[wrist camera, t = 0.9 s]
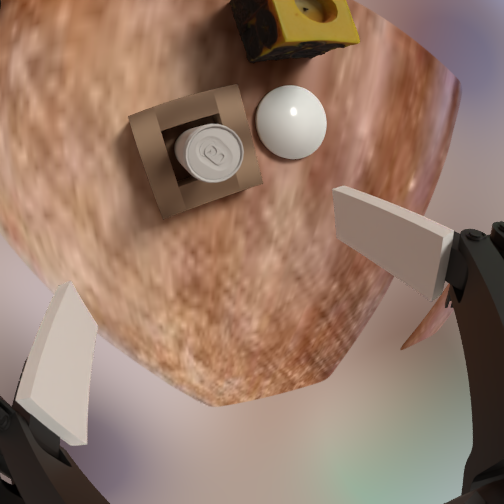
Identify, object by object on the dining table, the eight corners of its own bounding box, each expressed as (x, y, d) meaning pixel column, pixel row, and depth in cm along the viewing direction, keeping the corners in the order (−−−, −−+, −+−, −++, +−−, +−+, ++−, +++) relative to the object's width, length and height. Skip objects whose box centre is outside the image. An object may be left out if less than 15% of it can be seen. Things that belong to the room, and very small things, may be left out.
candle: (227, 1, 22) (255, -36, 14) (296, -1, 24) (337, -27, 16) (247, 65, 27) (282, 42, 19) (315, 58, 29) (362, 43, 21)
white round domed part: (246, 92, 29) (248, 91, 28) (314, 82, 31) (318, 81, 30) (265, 167, 34) (267, 167, 33) (328, 149, 36) (332, 150, 35)
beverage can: (192, 120, 28) (212, 110, 18) (222, 145, 31) (257, 150, 20) (165, 152, 29) (170, 159, 19) (196, 175, 31) (218, 196, 21)
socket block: (130, 118, 26) (127, 116, 23) (229, 88, 28) (237, 83, 25) (162, 211, 32) (163, 219, 28) (253, 178, 34) (263, 183, 31)
